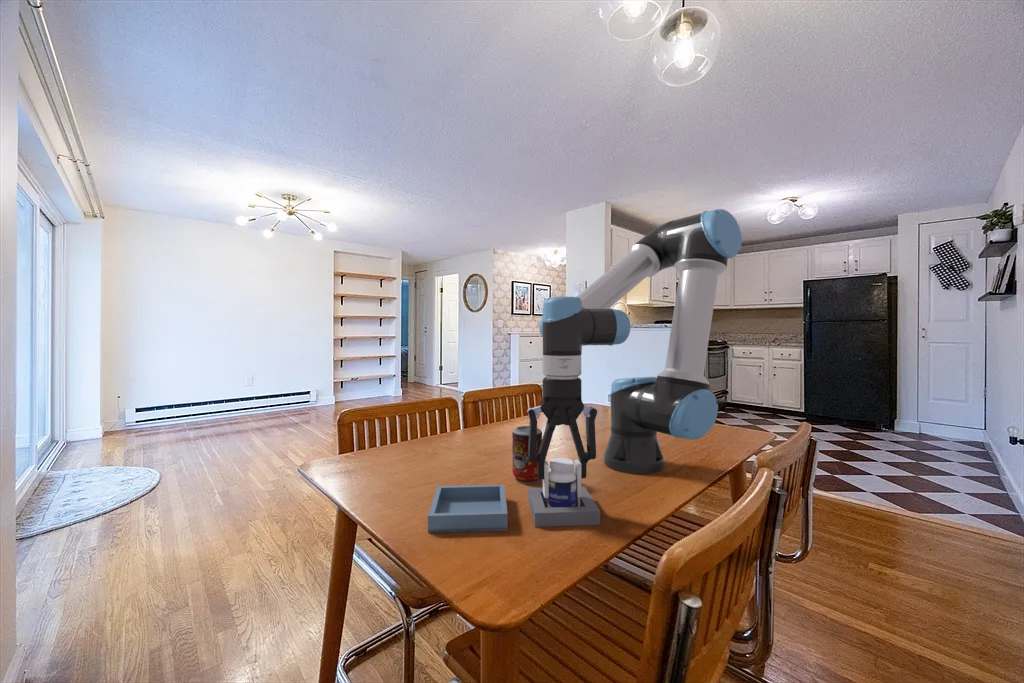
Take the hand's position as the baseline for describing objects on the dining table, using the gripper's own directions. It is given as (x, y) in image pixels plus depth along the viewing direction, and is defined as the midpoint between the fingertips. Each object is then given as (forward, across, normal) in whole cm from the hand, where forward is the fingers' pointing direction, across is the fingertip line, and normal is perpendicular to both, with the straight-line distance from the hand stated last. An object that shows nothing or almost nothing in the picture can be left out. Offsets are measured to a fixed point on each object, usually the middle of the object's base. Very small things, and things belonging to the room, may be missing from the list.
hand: (561, 494), depth 82 cm
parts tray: (+3, -18, 0) cm, 18 cm away
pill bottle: (+4, 0, 0) cm, 4 cm away
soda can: (+4, -5, +18) cm, 19 cm away
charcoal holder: (+3, 0, 0) cm, 3 cm away
